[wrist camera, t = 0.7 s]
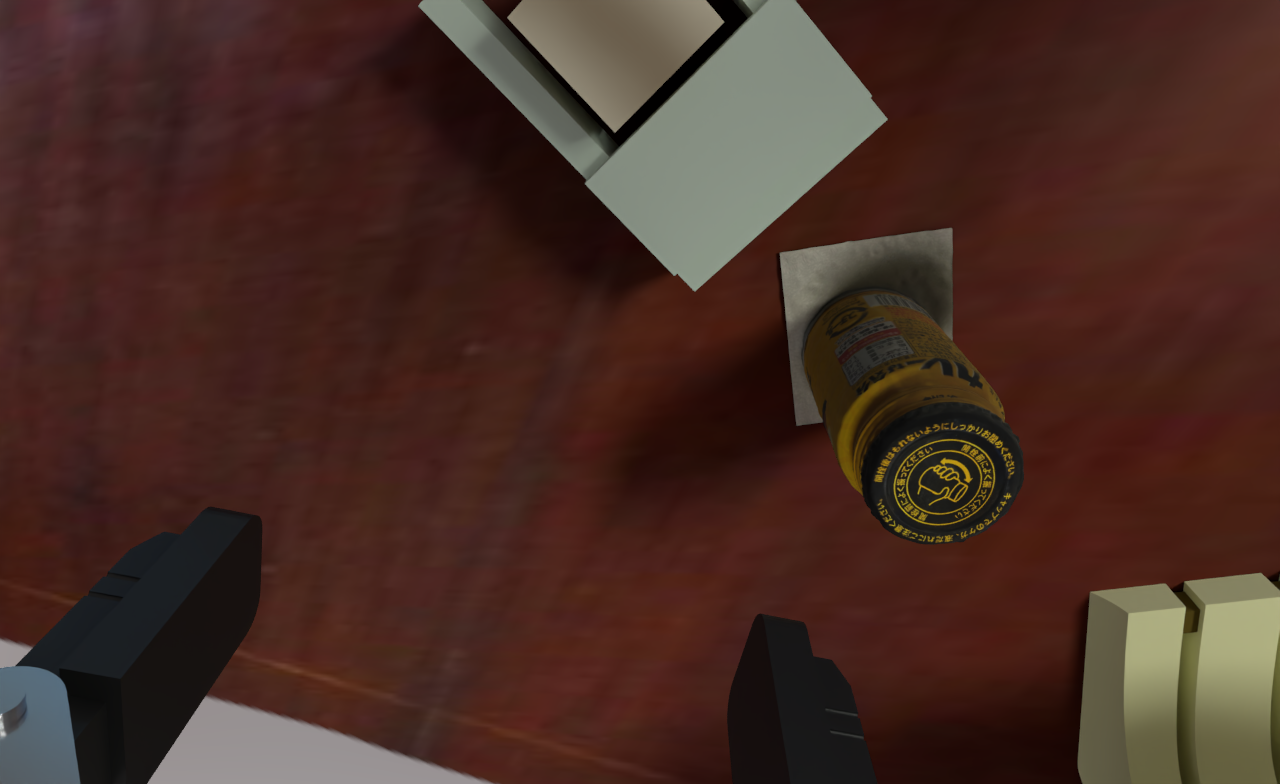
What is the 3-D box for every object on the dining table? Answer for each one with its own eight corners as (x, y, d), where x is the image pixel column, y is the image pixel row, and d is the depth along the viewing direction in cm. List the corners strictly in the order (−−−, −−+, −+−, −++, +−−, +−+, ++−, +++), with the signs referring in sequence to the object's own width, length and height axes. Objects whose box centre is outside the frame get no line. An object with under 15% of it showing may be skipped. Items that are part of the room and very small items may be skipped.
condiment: (795, 424, 40) (846, 579, 29) (779, 251, 37) (829, 354, 26) (952, 403, 39) (1064, 554, 28) (950, 225, 36) (1076, 320, 25)
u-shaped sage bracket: (616, -196, 30) (609, -231, 26) (863, 107, 34) (893, 121, 30) (445, 6, 33) (411, 5, 28) (691, 263, 37) (695, 297, 32)
